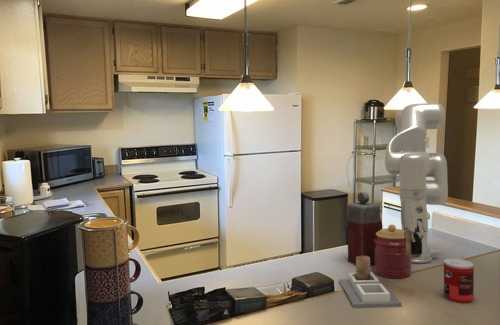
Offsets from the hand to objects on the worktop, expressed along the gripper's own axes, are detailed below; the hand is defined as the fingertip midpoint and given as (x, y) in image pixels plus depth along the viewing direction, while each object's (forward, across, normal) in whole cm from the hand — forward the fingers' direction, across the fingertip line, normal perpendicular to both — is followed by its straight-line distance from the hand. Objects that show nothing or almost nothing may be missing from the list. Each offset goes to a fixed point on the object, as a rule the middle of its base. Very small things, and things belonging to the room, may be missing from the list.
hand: (413, 250), depth 122 cm
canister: (+14, +18, 0) cm, 23 cm away
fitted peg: (+12, +5, +14) cm, 20 cm away
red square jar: (+14, +30, +6) cm, 34 cm away
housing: (+13, 0, +14) cm, 20 cm away
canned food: (+14, -5, -12) cm, 19 cm away
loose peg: (+1, 0, 0) cm, 1 cm away
